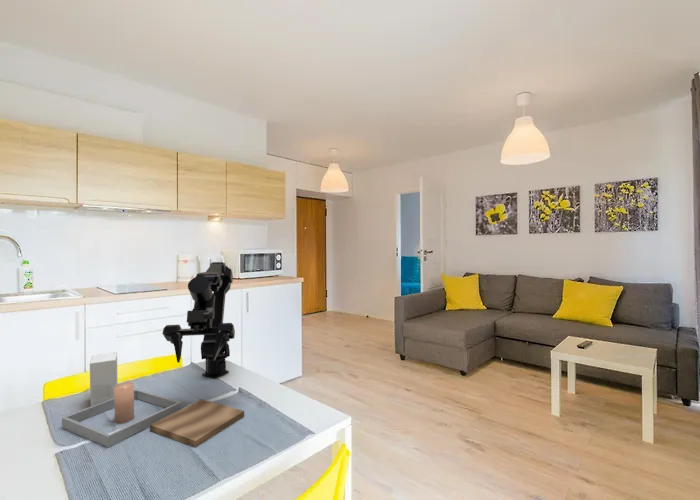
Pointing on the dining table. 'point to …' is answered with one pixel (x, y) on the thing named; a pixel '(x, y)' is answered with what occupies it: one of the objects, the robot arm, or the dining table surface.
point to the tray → (108, 440)
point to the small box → (102, 377)
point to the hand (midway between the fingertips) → (196, 361)
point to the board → (197, 422)
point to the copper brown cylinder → (124, 402)
